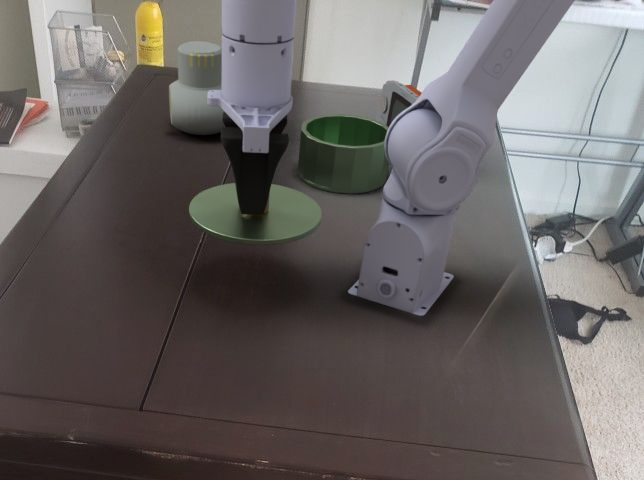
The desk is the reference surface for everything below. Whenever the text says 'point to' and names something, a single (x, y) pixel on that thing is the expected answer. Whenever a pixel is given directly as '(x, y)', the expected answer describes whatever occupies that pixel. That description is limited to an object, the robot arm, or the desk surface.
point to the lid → (255, 216)
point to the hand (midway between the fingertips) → (252, 205)
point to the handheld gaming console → (395, 101)
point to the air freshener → (196, 89)
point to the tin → (343, 153)
